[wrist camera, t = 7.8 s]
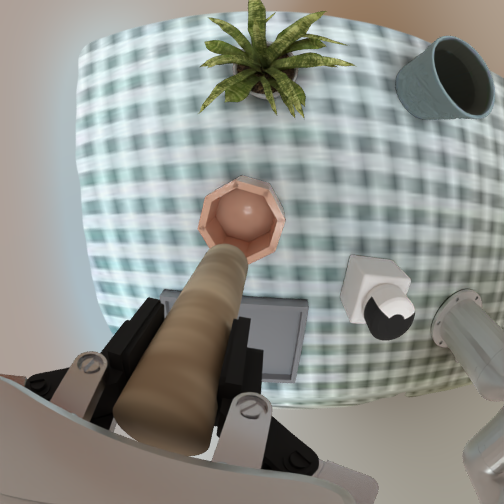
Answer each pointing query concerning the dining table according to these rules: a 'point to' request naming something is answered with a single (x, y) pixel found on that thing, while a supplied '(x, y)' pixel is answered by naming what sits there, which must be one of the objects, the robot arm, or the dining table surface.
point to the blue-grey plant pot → (447, 82)
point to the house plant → (267, 60)
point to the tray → (269, 331)
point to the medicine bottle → (377, 296)
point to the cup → (243, 217)
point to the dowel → (186, 360)
